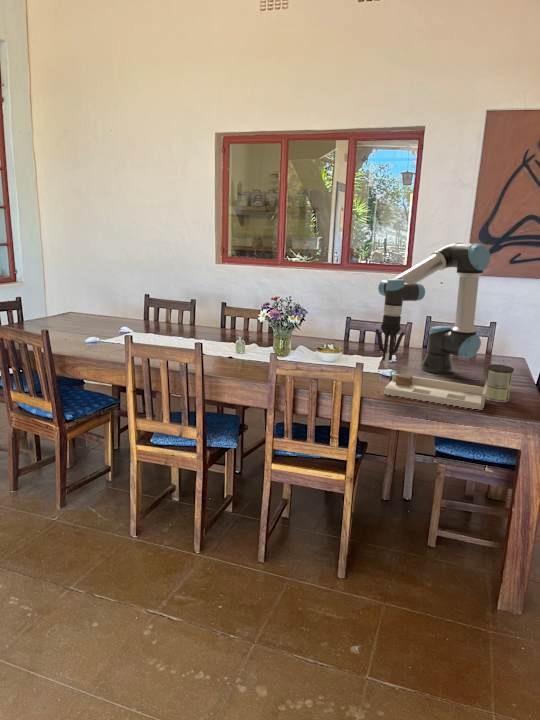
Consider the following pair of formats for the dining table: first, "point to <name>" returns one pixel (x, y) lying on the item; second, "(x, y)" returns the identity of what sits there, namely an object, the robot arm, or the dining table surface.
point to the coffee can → (498, 382)
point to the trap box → (440, 392)
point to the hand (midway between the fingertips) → (386, 367)
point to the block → (403, 380)
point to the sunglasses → (391, 374)
